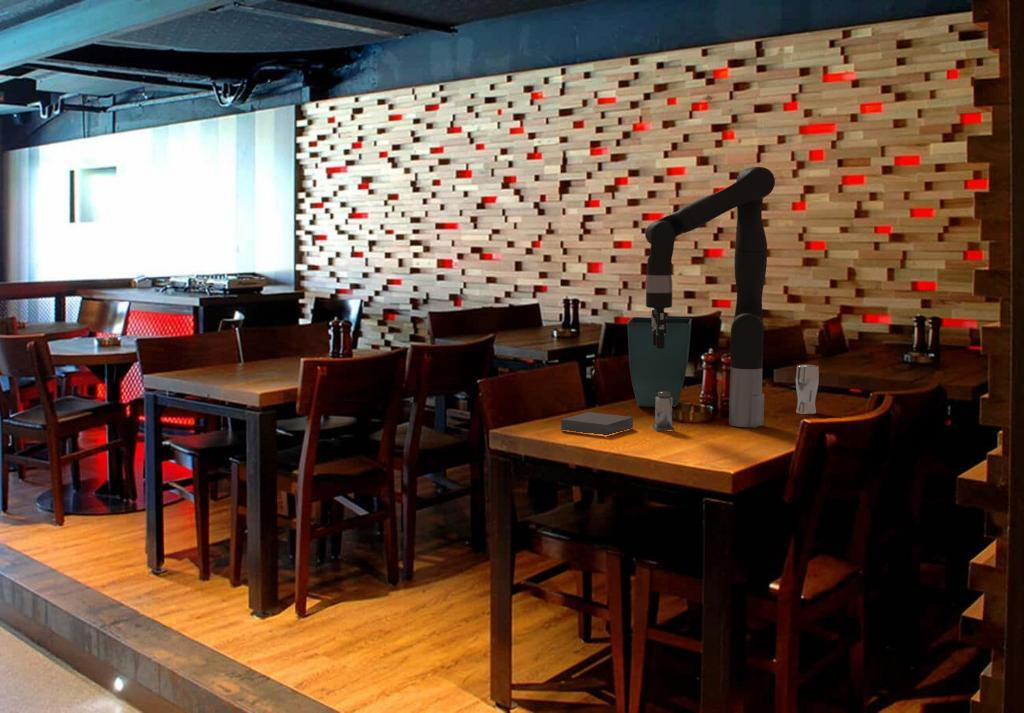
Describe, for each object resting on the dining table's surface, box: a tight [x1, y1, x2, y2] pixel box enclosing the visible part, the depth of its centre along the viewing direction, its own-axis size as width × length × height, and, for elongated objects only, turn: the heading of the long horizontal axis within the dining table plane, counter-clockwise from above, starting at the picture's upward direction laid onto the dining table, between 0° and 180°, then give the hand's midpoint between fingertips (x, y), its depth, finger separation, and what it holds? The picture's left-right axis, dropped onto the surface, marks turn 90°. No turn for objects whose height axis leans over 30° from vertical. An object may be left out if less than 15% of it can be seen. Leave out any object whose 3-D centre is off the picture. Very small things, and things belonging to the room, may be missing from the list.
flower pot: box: [627, 316, 693, 408], centre depth 337 cm, size 20×20×28 cm
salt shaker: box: [652, 391, 675, 432], centre depth 294 cm, size 5×5×11 cm
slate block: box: [560, 411, 634, 435], centre depth 294 cm, size 15×15×4 cm
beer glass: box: [795, 364, 820, 415], centre depth 323 cm, size 7×7×15 cm
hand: (658, 346), depth 296 cm, fingers open, 8 cm apart
